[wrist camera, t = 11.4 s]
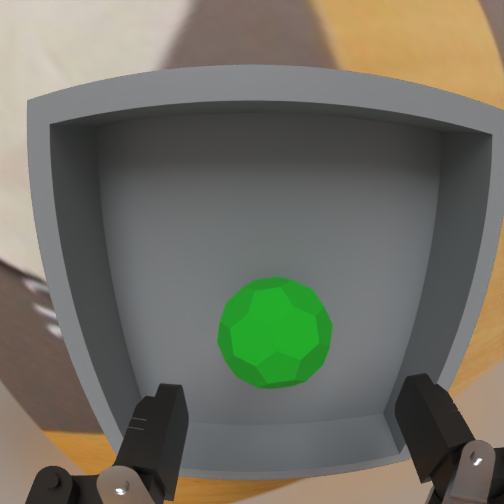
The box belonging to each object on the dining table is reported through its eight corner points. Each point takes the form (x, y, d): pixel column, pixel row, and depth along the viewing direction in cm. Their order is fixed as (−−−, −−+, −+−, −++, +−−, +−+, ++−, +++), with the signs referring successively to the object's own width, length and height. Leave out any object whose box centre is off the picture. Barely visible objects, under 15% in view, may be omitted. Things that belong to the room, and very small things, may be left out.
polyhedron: (207, 324, 16) (193, 387, 12) (249, 244, 15) (249, 291, 10) (289, 357, 17) (300, 421, 12) (338, 287, 15) (368, 342, 11)
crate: (449, 114, 13) (509, 112, 8) (389, 411, 20) (409, 459, 16) (85, 107, 13) (27, 100, 8) (140, 416, 20) (123, 467, 16)
